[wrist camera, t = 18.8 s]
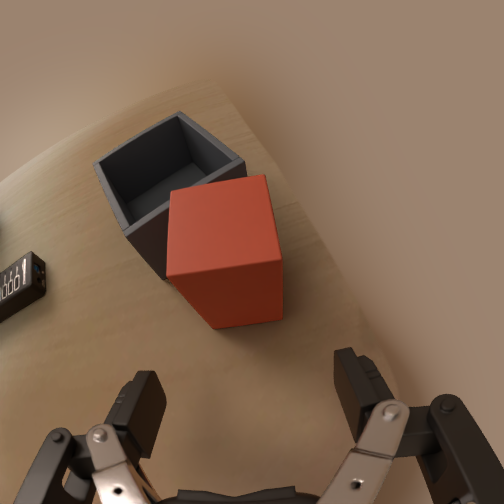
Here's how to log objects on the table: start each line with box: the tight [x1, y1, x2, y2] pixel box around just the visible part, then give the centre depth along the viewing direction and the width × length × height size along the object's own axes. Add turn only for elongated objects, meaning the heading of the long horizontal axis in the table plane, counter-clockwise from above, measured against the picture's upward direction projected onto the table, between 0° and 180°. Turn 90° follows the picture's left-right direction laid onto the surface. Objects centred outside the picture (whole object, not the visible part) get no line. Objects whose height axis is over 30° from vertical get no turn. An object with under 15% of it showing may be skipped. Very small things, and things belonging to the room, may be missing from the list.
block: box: [166, 175, 283, 329], centre depth 17 cm, size 5×5×9 cm
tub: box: [93, 111, 247, 280], centre depth 22 cm, size 10×9×6 cm
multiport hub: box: [0, 251, 46, 322], centre depth 21 cm, size 4×14×2 cm, turn 116°
